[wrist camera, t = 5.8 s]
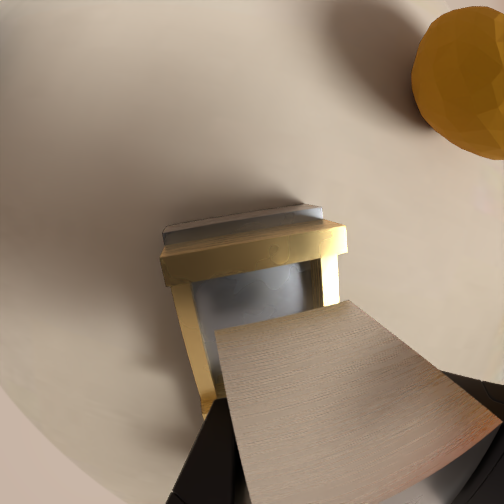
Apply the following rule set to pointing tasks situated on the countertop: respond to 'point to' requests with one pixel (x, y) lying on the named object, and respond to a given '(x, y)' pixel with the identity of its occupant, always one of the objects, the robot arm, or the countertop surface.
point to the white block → (346, 413)
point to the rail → (247, 277)
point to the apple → (464, 79)
